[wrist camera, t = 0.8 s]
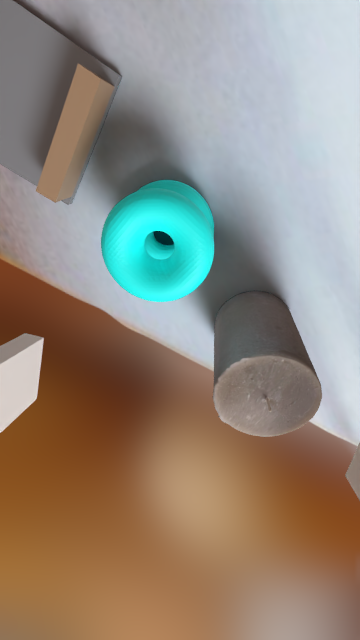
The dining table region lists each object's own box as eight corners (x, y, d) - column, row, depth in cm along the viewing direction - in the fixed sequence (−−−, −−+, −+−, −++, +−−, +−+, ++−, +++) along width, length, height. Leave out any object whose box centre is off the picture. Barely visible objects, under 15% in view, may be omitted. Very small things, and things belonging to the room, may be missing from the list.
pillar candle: (307, 327, 40) (352, 414, 27) (246, 369, 44) (259, 463, 31) (257, 273, 37) (279, 341, 24) (197, 323, 41) (188, 404, 28)
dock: (-61, -52, 26) (-116, -90, 22) (122, 76, 29) (106, 65, 25) (-82, 110, 32) (-129, 105, 28) (71, 203, 35) (51, 211, 31)
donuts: (74, 255, 28) (147, 160, 24) (107, 228, 36) (165, 156, 32) (160, 326, 30) (239, 253, 26) (172, 285, 39) (233, 226, 35)
